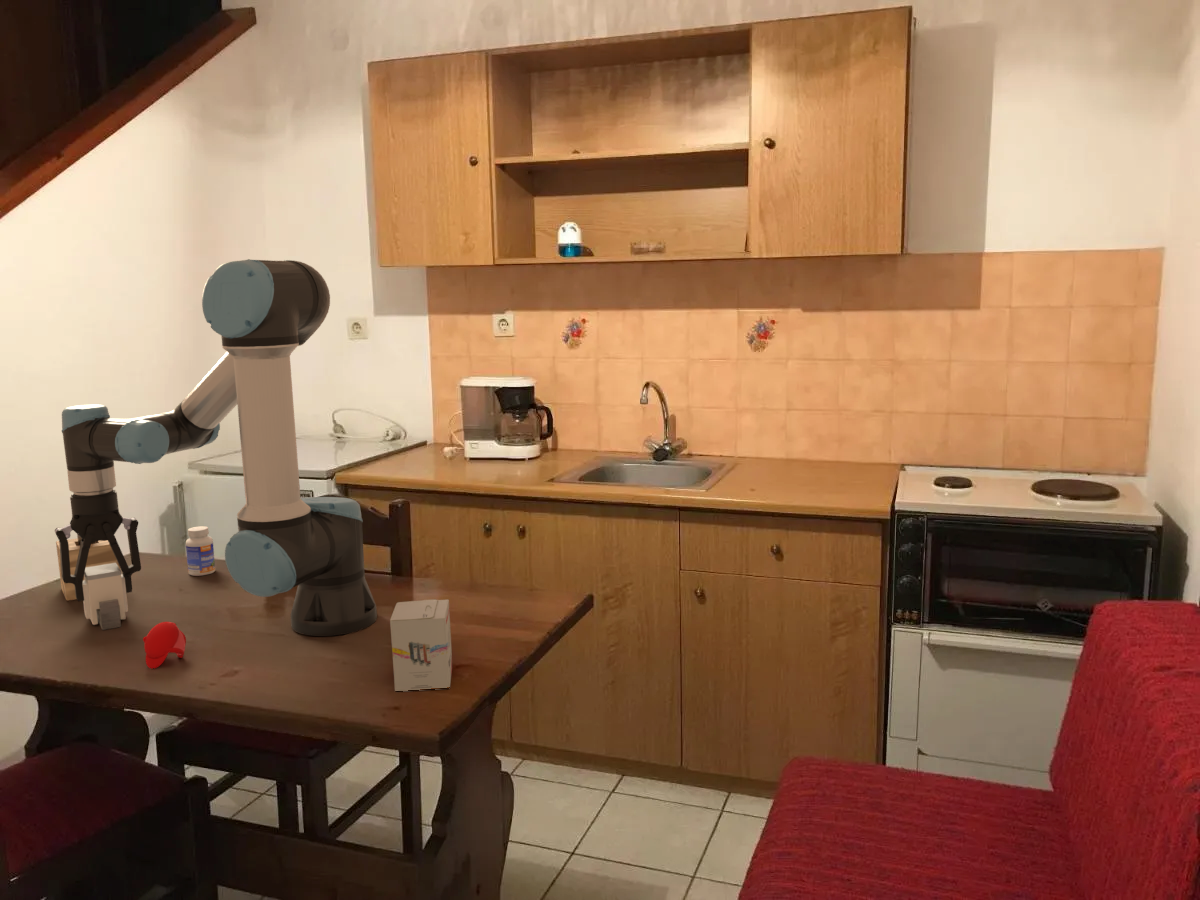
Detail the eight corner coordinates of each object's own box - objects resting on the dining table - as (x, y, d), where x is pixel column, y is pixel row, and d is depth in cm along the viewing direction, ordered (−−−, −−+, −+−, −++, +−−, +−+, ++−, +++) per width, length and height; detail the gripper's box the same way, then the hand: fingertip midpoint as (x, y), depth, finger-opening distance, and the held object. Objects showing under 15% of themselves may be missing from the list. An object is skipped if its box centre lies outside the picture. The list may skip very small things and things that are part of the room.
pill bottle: (205, 577, 203) (201, 532, 202) (182, 575, 204) (178, 531, 203) (220, 569, 209) (217, 525, 207) (198, 568, 210) (194, 524, 208)
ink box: (399, 670, 155) (395, 599, 152) (453, 667, 155) (450, 597, 153) (392, 693, 146) (388, 618, 144) (449, 690, 147) (446, 616, 145)
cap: (155, 631, 164) (132, 624, 158) (187, 620, 163) (165, 613, 158) (159, 676, 160) (136, 671, 155) (192, 665, 160) (169, 660, 154)
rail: (120, 626, 175) (118, 600, 174) (102, 630, 173) (99, 603, 172) (103, 594, 193) (100, 570, 192) (86, 597, 191) (83, 573, 190)
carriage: (126, 618, 178) (120, 570, 176) (92, 625, 174) (87, 576, 173) (120, 609, 182) (115, 562, 181) (88, 615, 179) (82, 567, 178)
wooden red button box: (122, 591, 195) (117, 543, 193) (66, 600, 189) (60, 551, 187) (115, 579, 202) (110, 533, 200) (61, 588, 197) (55, 541, 195)
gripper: (145, 480, 182) (156, 597, 186) (32, 493, 172) (47, 617, 176) (152, 487, 176) (164, 608, 180) (36, 501, 166) (51, 629, 170)
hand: (106, 612), depth 178 cm, fingers closed on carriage, 5 cm apart
